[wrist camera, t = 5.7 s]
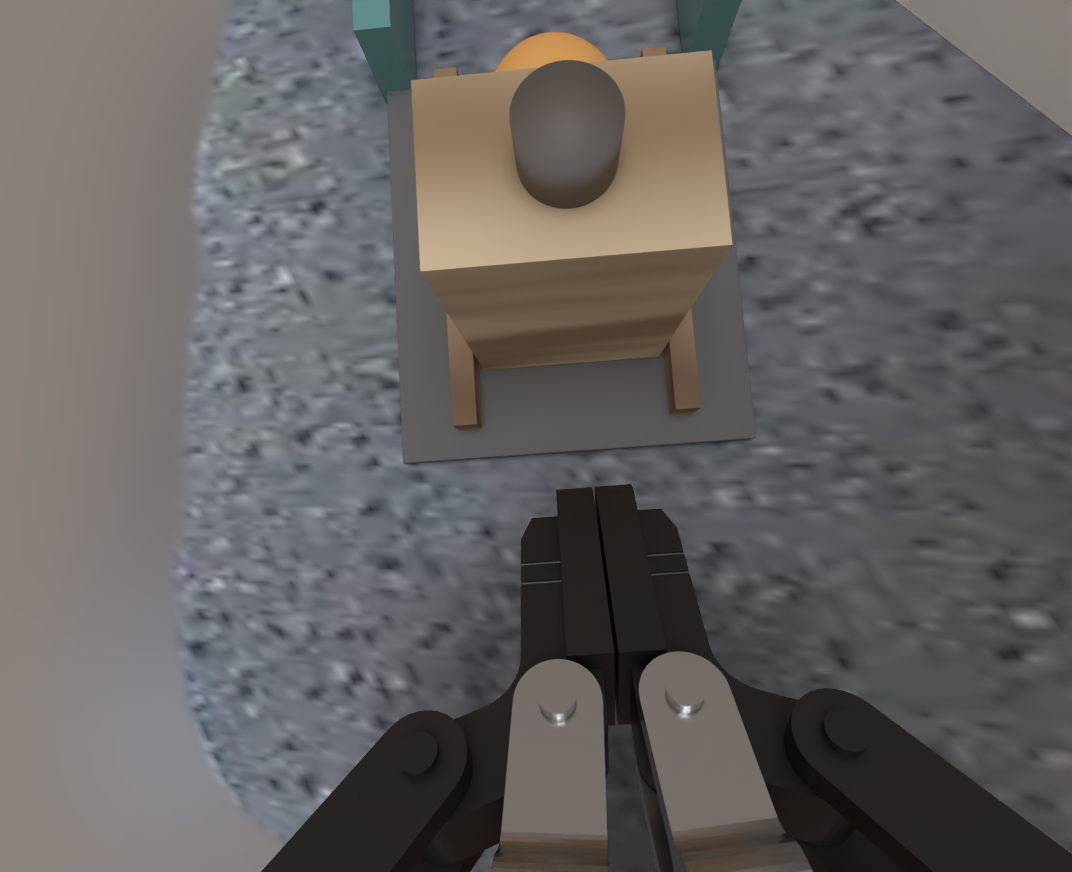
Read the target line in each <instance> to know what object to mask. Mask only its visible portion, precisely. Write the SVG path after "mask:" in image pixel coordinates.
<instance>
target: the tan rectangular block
mask: <svg viewBox="0 0 1072 872" xmlns="http://www.w3.org/2000/svg"><path fill="white" fill-rule="evenodd" d="M411 89H412V110H413V131H414V151H415V172H416V192H417V213H418V233H419V254H420V272H421V273H422V275H423V276H424V278H425V279H426V281H427V282H428V284H429V286H430V287H431V289H432V290H433V292H434V293H435V295H436V296H437V298H438V299H439V301H440V303H441V304H442V306H443V307H444V309H445V310H446V312H447V313H448V315H449V317H450V318H451V320H452V321H453V323H454V324H455V326H456V327H457V329H458V330H459V332H460V334H461V335H462V337H463V338H464V340H465V341H466V343H467V344H468V346H469V348H470V349H471V351H472V352H473V354H474V355H475V357H476V358H477V360H478V361H479V363H480V365H481V366H482V368H483V369H484V370H494V369H507V368H520V367H533V366H545V365H558V364H571V363H584V362H597V361H610V360H622V359H635V358H648V357H659V355H660V354H661V352H662V351H663V349H664V348H665V346H666V345H667V343H668V342H669V340H670V339H671V337H672V336H673V334H674V333H675V331H676V330H677V328H678V326H679V325H680V323H681V322H682V320H683V319H684V317H685V316H686V314H687V313H688V311H689V310H690V308H691V307H692V305H693V304H694V302H695V301H696V299H697V298H698V296H699V295H700V293H701V292H702V290H703V289H704V287H705V286H706V284H707V283H708V281H709V279H710V278H711V276H712V275H713V273H714V272H715V270H716V269H717V267H718V266H719V264H720V263H721V261H722V260H723V258H724V257H725V255H726V254H727V252H728V251H729V249H730V248H731V246H732V236H731V226H730V217H729V208H728V198H727V189H726V180H725V170H724V161H723V152H722V143H721V133H720V124H719V115H718V105H717V96H716V87H715V77H714V68H713V59H712V50H710V51H700V52H690V53H680V54H670V55H660V56H650V57H640V58H630V59H620V60H610V61H599V62H589V63H587V62H583V61H578V60H561V61H555V62H552V63H548V64H546V65H543V66H541V67H539V68H529V69H519V70H509V71H499V72H489V73H479V74H469V75H459V76H449V77H439V78H429V79H419V80H411Z"/></svg>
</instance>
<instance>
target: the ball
mask: <svg viewBox="0 0 1072 872" xmlns="http://www.w3.org/2000/svg"><path fill="white" fill-rule="evenodd" d="M561 60H578V61H583V62H587V63H589V62H599V61H607V59H606V58H605V57H604V55H603V54H602V53H601V52H600V51H599V50H598V49H597V48H596V47H594V46H593V45H592V44H591V43H589V42H587V41H586V40H584V39H582V38H580V37H578V36H575V35H572V34H569V33H562V32H548V33H542V34H538V35H535V36H532V37H530V38H528V39H525V40H524V41H522V42H521V43H519V44H518V45H516V46H515V47H514V48H513V49H512V50H511V51H509V53H508V54H507V55H506V56H505V57H504V58H503V59H502V61H501V62H500V64H499V65H498V67H497V69H496V71H495V72H499V71H509V70H519V69H529V68H539V67H541V66H543V65H546V64H548V63H552V62H555V61H561Z"/></svg>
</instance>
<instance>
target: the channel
mask: <svg viewBox="0 0 1072 872" xmlns="http://www.w3.org/2000/svg"><path fill="white" fill-rule="evenodd" d="M660 55H666V46H658V47H648V48H642V51H641V57H650V56H660ZM449 76H459V75H458V71H457V67H449V68H439V69H434V78H439V77H449ZM447 331H448V350H449V369H450V388H451V407H452V426H454V427H455V428H457V429H458V430H466V429H480V428H482V416H481V399H480V382H479V365H478V360H477V358H476V357H475V355H474V354H473V352H472V351H471V349H470V348H469V346H468V344H467V343H466V341H465V340H464V338H463V337H462V335H461V334H460V332H459V330H458V329H457V327H456V326H455V324H454V323H453V321H452V320H451V318H450V317H449V315H448V313H447ZM663 351H664V362H665V373H666V384H667V395H668V405H669V415H670V414H683V413H694V412H695V411H697V410H698V409H700V408H701V401H700V391H699V380H698V370H697V360H696V350H695V340H694V330H693V320H692V309H691V308H690V310H689V311H688V313H687V314H686V316H685V317H684V319H683V320H682V322H681V323H680V325H679V326H678V328H677V330H676V331H675V333H674V334H673V336H672V337H671V339H670V340H669V342H668V343H667V345H666V346H665V348H664V349H663Z"/></svg>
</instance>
